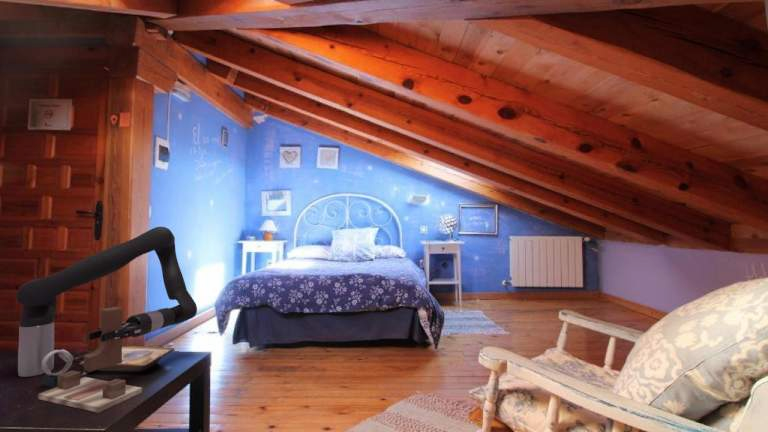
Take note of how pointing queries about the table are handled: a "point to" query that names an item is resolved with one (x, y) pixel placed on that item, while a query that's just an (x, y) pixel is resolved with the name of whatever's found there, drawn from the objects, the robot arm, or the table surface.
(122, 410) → the table surface
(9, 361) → the table surface
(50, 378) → the watch
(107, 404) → the striped wooden base
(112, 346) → the wooden block
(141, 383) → the table surface
